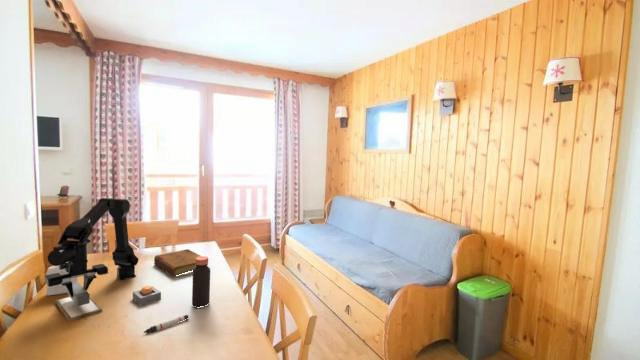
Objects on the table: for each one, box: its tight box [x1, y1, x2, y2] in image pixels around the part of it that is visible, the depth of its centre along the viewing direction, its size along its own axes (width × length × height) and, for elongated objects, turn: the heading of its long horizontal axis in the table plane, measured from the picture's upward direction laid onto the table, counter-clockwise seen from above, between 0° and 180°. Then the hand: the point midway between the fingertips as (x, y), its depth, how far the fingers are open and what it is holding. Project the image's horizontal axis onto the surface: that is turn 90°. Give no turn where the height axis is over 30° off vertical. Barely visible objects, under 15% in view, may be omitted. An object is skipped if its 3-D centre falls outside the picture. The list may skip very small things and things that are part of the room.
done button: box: [140, 285, 152, 296], centre depth 131 cm, size 4×4×2 cm
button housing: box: [132, 286, 162, 306], centre depth 132 cm, size 8×8×3 cm
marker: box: [143, 314, 190, 334], centre depth 113 cm, size 15×2×2 cm, turn 137°
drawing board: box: [54, 296, 103, 323], centre depth 122 cm, size 10×20×1 cm, turn 52°
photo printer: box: [46, 265, 78, 296], centre depth 133 cm, size 10×4×12 cm, turn 123°
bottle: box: [191, 255, 211, 307], centre depth 129 cm, size 7×7×20 cm
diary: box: [153, 249, 201, 278], centre depth 169 cm, size 23×19×6 cm
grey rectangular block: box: [66, 282, 91, 306], centre depth 122 cm, size 4×14×4 cm, turn 52°
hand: (78, 295), depth 122 cm, fingers closed on grey rectangular block, 4 cm apart
